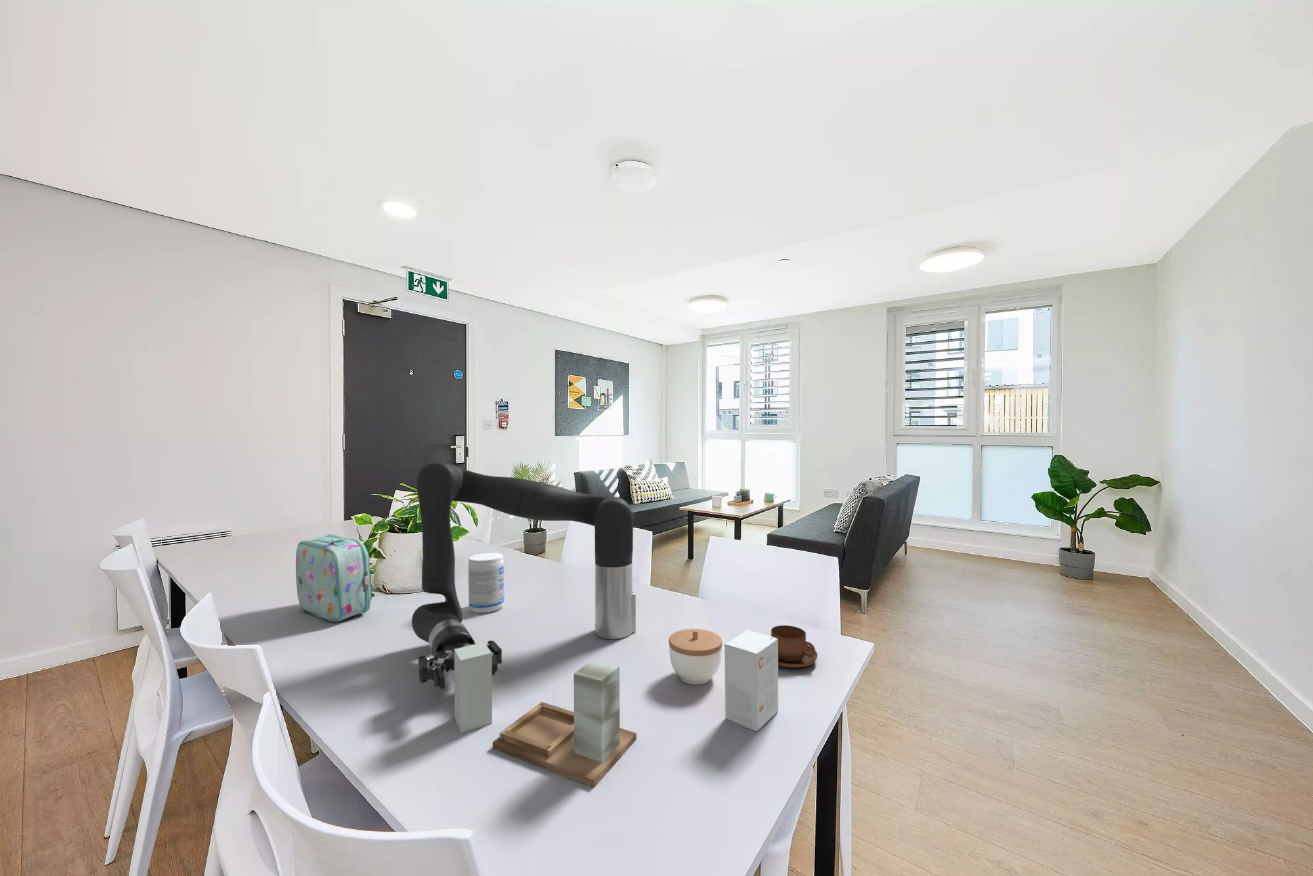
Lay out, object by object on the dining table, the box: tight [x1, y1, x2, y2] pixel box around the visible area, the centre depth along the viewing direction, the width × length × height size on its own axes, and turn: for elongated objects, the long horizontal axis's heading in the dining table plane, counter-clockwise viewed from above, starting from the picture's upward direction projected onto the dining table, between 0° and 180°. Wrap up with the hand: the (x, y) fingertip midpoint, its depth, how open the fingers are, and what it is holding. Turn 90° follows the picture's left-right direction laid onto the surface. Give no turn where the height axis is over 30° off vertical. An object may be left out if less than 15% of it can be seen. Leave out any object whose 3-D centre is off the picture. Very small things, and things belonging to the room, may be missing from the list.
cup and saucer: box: [770, 624, 818, 669], centre depth 106 cm, size 12×12×6 cm
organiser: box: [492, 659, 637, 788], centre depth 77 cm, size 12×19×13 cm, turn 63°
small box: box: [724, 629, 779, 732], centre depth 85 cm, size 8×6×13 cm
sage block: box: [453, 642, 493, 734], centre depth 84 cm, size 5×5×12 cm
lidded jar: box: [668, 628, 723, 686], centre depth 99 cm, size 11×11×9 cm
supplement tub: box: [467, 552, 505, 614], centre depth 139 cm, size 10×10×15 cm
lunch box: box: [295, 533, 373, 623], centre depth 136 cm, size 27×10×21 cm, turn 58°
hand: (468, 676), depth 86 cm, fingers open, 8 cm apart
